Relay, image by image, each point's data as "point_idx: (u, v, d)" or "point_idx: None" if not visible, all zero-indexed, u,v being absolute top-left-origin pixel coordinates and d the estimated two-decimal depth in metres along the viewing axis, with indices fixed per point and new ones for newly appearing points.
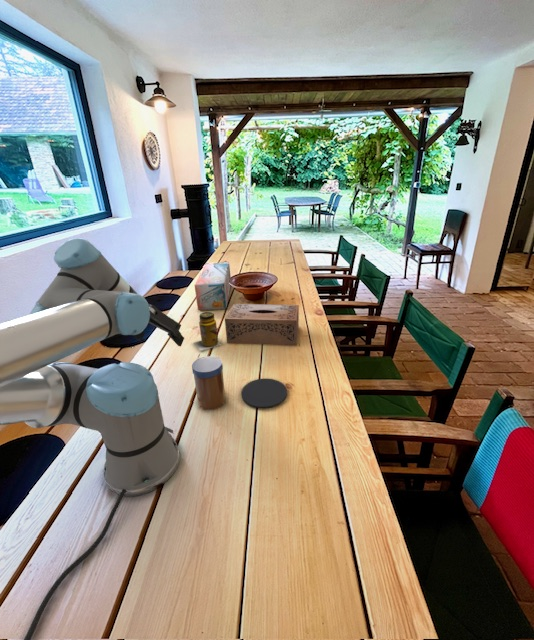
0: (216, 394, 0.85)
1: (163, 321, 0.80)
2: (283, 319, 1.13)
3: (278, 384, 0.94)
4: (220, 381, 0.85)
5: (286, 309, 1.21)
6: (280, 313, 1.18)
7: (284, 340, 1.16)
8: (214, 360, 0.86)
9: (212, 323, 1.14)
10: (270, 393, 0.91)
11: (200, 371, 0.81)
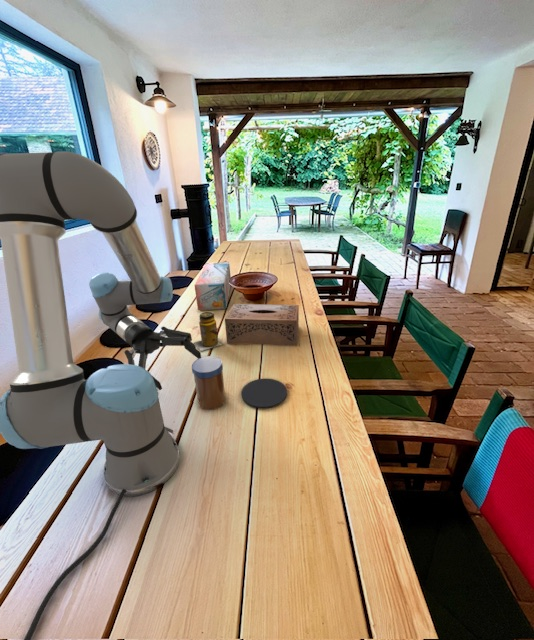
0: (216, 394, 0.85)
1: None
2: (283, 319, 1.13)
3: (278, 384, 0.94)
4: (220, 381, 0.84)
5: (286, 309, 1.21)
6: (280, 313, 1.18)
7: (284, 340, 1.16)
8: (214, 360, 0.86)
9: (212, 323, 1.14)
10: (270, 393, 0.91)
11: (200, 371, 0.81)
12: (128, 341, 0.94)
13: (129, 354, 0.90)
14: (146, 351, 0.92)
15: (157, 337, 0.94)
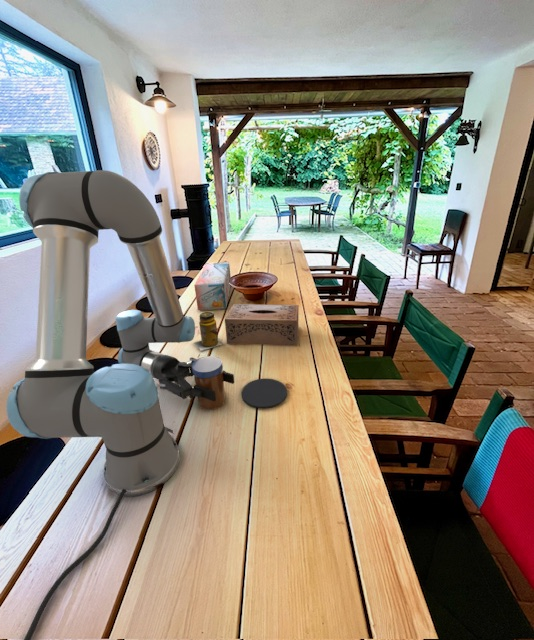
0: (216, 394, 0.85)
1: None
2: (283, 319, 1.13)
3: (278, 384, 0.94)
4: (220, 381, 0.85)
5: (286, 309, 1.21)
6: (280, 313, 1.18)
7: (284, 340, 1.16)
8: (214, 360, 0.86)
9: (212, 323, 1.14)
10: (270, 393, 0.91)
11: (200, 371, 0.81)
12: (156, 372, 0.91)
13: (166, 380, 0.87)
14: None
15: (186, 365, 0.92)
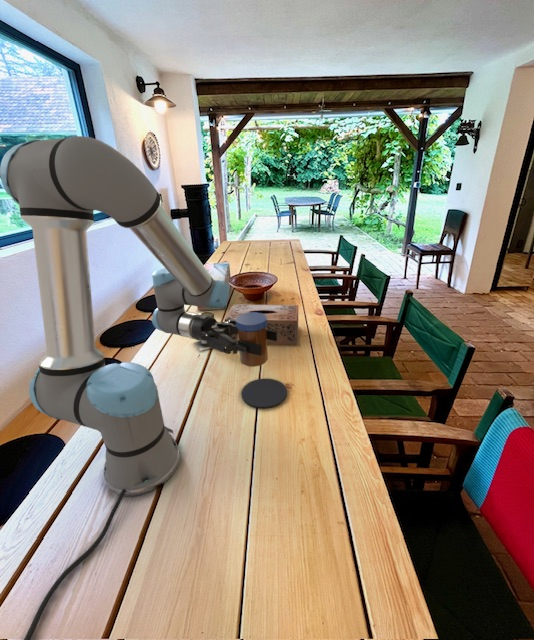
0: None
1: None
2: (283, 319, 1.13)
3: (278, 384, 0.94)
4: (264, 336, 0.81)
5: (286, 309, 1.21)
6: (280, 313, 1.18)
7: (284, 340, 1.16)
8: (258, 315, 0.83)
9: None
10: (270, 393, 0.91)
11: (245, 324, 0.78)
12: (196, 330, 0.88)
13: (207, 337, 0.83)
14: None
15: (225, 323, 0.89)
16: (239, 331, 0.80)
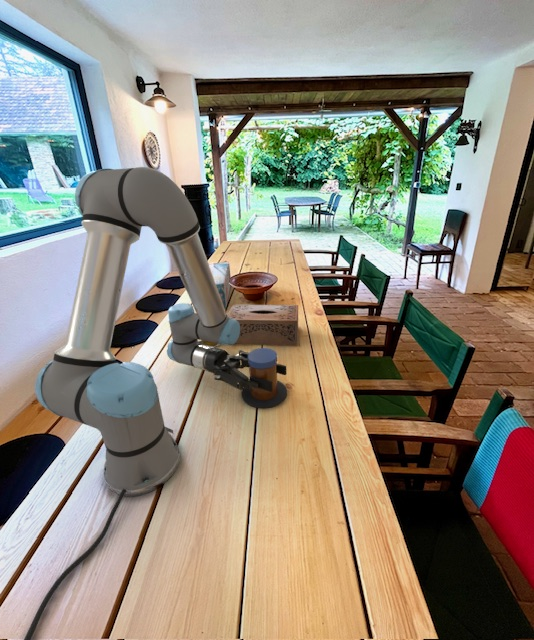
0: None
1: None
2: (283, 319, 1.13)
3: (278, 384, 0.94)
4: (275, 372, 0.86)
5: (286, 309, 1.21)
6: (280, 313, 1.18)
7: (284, 340, 1.16)
8: (268, 352, 0.88)
9: None
10: None
11: (257, 362, 0.83)
12: (209, 364, 0.93)
13: (221, 372, 0.88)
14: None
15: (237, 357, 0.94)
16: (251, 368, 0.85)
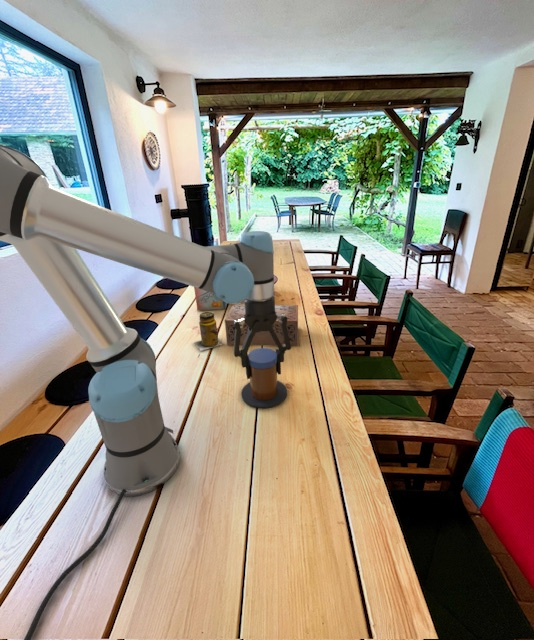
0: (271, 385, 0.86)
1: (287, 332, 0.84)
2: None
3: (278, 384, 0.94)
4: (275, 372, 0.86)
5: (286, 309, 1.21)
6: (280, 314, 1.17)
7: None
8: (268, 352, 0.88)
9: (212, 323, 1.14)
10: None
11: (257, 362, 0.83)
12: (245, 307, 0.79)
13: (239, 329, 0.81)
14: None
15: (270, 328, 0.81)
16: (251, 367, 0.85)
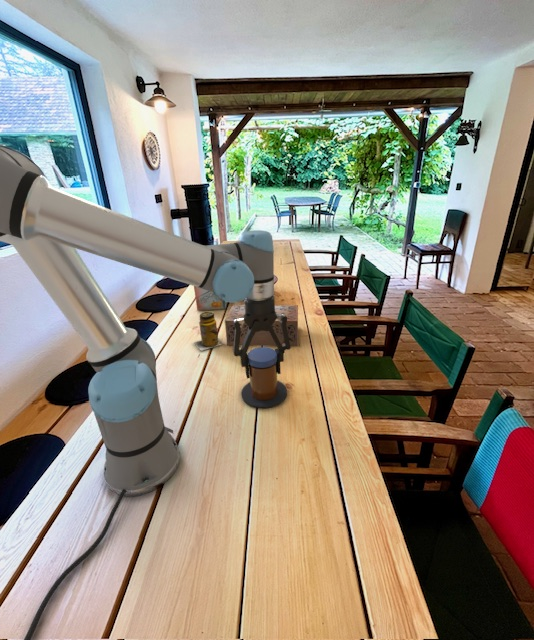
0: (271, 385, 0.86)
1: (234, 335, 0.83)
2: None
3: (278, 384, 0.94)
4: (275, 372, 0.86)
5: (286, 310, 1.21)
6: None
7: None
8: (255, 357, 0.85)
9: (212, 323, 1.14)
10: None
11: (266, 347, 0.89)
12: None
13: None
14: None
15: None
16: (251, 368, 0.85)
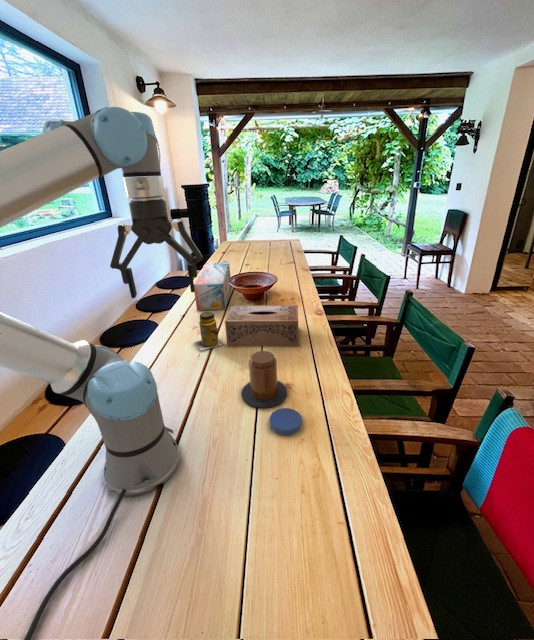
0: (271, 385, 0.86)
1: None
2: (284, 320, 1.12)
3: (278, 384, 0.94)
4: (275, 372, 0.86)
5: (286, 310, 1.20)
6: (280, 314, 1.17)
7: (285, 341, 1.15)
8: (278, 423, 0.78)
9: (212, 323, 1.14)
10: None
11: (289, 409, 0.82)
12: None
13: None
14: None
15: None
16: (251, 367, 0.85)
